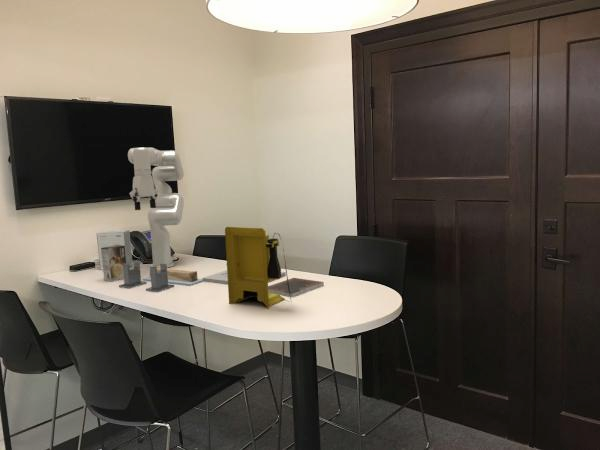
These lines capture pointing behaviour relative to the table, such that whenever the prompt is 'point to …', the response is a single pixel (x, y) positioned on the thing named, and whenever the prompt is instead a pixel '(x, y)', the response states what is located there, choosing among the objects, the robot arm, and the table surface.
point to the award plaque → (223, 277)
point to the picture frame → (294, 287)
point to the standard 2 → (159, 279)
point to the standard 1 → (132, 276)
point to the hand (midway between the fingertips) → (145, 208)
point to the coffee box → (113, 262)
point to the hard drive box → (115, 243)
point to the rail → (181, 275)
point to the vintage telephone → (251, 265)
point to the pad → (178, 281)
